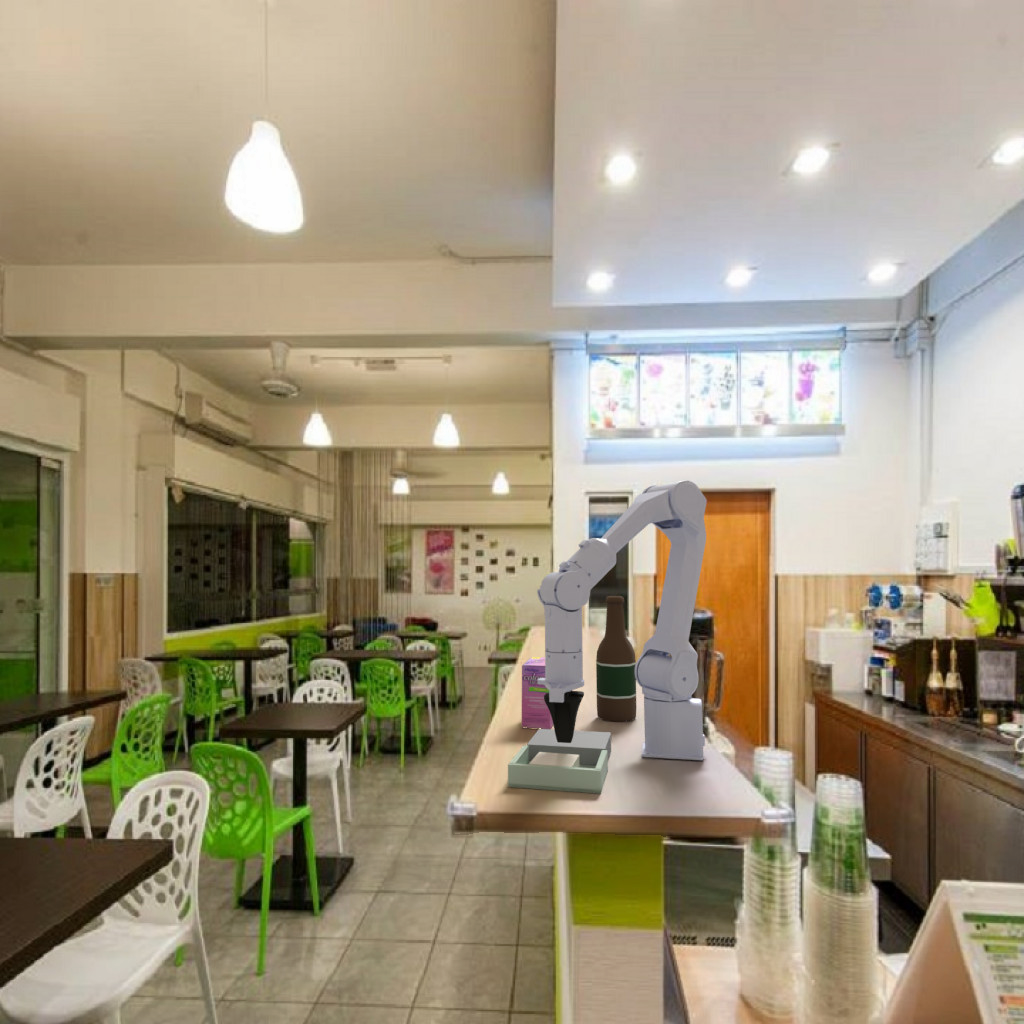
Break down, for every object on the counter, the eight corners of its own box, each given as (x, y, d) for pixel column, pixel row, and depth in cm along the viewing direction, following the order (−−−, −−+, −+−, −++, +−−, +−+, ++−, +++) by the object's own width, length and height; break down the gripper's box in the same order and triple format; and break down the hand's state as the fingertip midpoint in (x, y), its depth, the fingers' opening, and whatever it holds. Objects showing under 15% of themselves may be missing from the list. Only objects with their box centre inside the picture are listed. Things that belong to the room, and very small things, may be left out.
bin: (608, 769, 102) (607, 749, 102) (600, 793, 92) (600, 770, 92) (524, 764, 105) (524, 744, 105) (508, 786, 95) (508, 764, 95)
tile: (571, 766, 94) (571, 785, 94) (579, 754, 99) (579, 772, 99) (529, 763, 95) (529, 781, 95) (539, 751, 101) (539, 769, 101)
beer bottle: (636, 714, 139) (634, 595, 140) (636, 723, 131) (634, 597, 133) (597, 712, 140) (596, 595, 142) (595, 721, 132) (594, 597, 134)
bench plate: (611, 751, 112) (610, 732, 112) (605, 769, 102) (605, 748, 102) (539, 746, 115) (539, 728, 115) (527, 764, 105) (526, 744, 105)
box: (551, 730, 126) (551, 665, 127) (521, 728, 127) (520, 664, 128) (559, 717, 136) (558, 657, 137) (530, 716, 138) (530, 656, 138)
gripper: (546, 644, 112) (547, 728, 111) (528, 656, 98) (528, 753, 97) (589, 645, 111) (590, 730, 110) (577, 657, 96) (578, 756, 96)
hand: (564, 741), depth 103 cm, fingers closed
